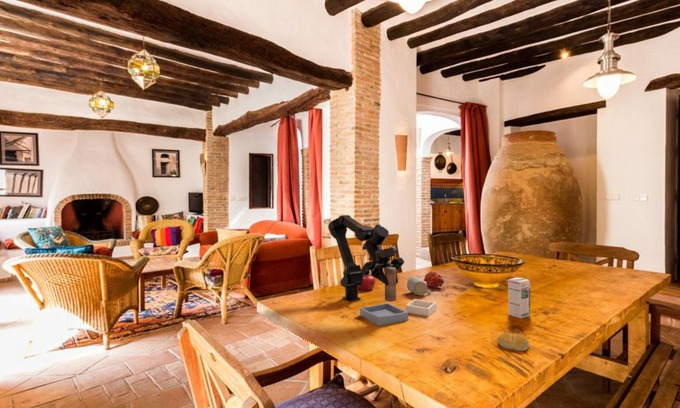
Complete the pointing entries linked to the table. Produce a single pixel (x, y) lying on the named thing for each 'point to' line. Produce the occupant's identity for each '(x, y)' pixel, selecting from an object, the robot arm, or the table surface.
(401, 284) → the table surface
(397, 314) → the tray
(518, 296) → the syrup box
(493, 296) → the table surface
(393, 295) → the pepper mill
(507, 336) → the bread roll
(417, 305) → the holder
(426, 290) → the ceramic mug
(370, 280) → the pomegranate
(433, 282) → the dragon fruit
